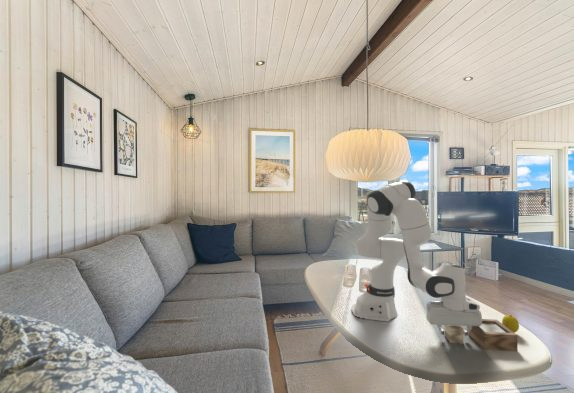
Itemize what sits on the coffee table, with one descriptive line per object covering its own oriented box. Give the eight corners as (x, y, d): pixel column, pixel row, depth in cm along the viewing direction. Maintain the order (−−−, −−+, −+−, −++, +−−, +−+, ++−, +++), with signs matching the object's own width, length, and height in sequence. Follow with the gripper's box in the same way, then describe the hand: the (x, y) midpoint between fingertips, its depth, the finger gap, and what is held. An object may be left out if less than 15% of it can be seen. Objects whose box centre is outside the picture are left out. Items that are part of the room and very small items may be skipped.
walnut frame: (483, 349, 101) (483, 333, 101) (466, 332, 113) (466, 318, 113) (517, 350, 100) (517, 335, 100) (496, 333, 112) (496, 319, 112)
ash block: (450, 342, 106) (450, 328, 106) (444, 336, 111) (444, 322, 111) (463, 343, 106) (463, 329, 106) (457, 336, 111) (457, 322, 110)
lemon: (501, 333, 112) (501, 315, 112) (503, 328, 116) (502, 310, 116) (518, 338, 108) (518, 319, 108) (519, 332, 112) (519, 314, 112)
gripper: (429, 304, 106) (430, 337, 106) (484, 306, 103) (484, 340, 103) (423, 297, 112) (424, 329, 113) (475, 299, 109) (475, 331, 110)
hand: (453, 334), depth 108 cm, fingers open, 8 cm apart
